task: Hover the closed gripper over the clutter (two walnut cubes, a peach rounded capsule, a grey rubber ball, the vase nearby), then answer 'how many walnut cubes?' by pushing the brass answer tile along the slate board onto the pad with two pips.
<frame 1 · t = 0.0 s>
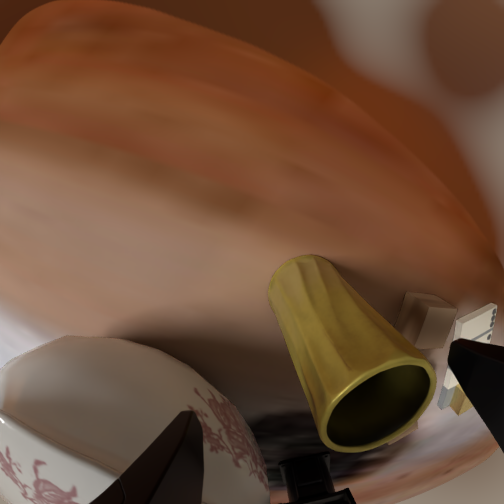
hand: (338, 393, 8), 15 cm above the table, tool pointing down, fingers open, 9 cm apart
walnut cube a: (388, 408, 26), on the table
vase: (304, 290, 23), on the table
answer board: (466, 357, 26), on the table
answer tile: (462, 389, 26), point 1 cm above the table, touching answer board
walnut cube b: (414, 311, 24), on the table
chamber pot: (142, 404, 25), on the table
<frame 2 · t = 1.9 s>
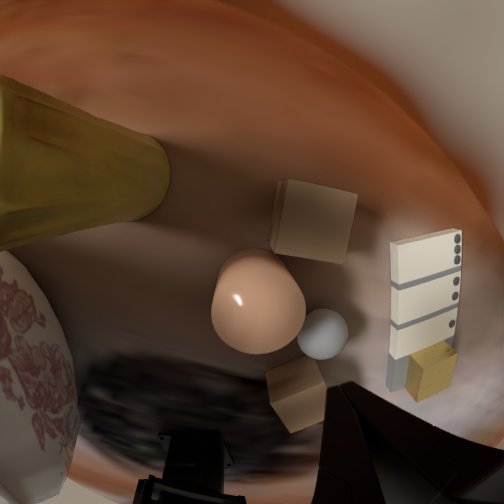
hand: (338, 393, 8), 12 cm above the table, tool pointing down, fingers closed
grey ball: (316, 322, 20), on the table
walnut cube a: (296, 378, 21), on the table
vase: (129, 176, 17), on the table
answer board: (423, 313, 21), on the table
answer tile: (424, 364, 21), point 1 cm above the table, touching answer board
walnut cube b: (301, 216, 19), on the table
chamber pot: (13, 328, 19), on the table
peach rounded capsule: (253, 283, 19), on the table
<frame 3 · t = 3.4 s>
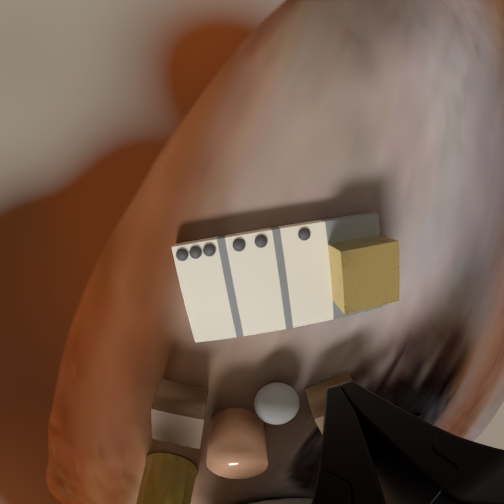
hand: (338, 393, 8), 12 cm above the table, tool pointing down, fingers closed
grey ball: (274, 390, 22), on the table
walnut cube a: (331, 393, 22), on the table
vase: (172, 464, 24), on the table
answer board: (284, 275, 19), on the table
answer tile: (357, 267, 18), point 1 cm above the table, touching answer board
walnut cube b: (183, 399, 22), on the table
peach rounded capsule: (236, 425, 22), on the table
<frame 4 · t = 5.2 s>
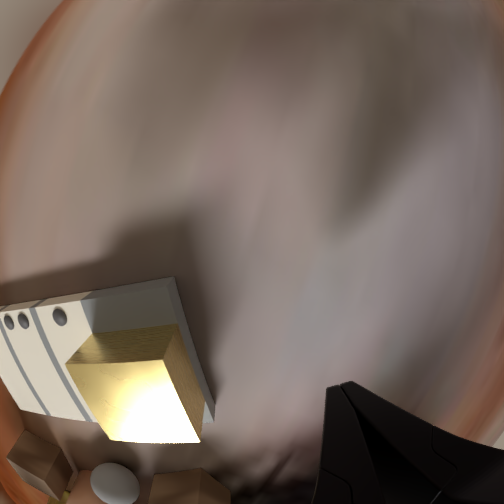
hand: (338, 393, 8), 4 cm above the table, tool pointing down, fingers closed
grey ball: (120, 467, 14), on the table
walnut cube a: (192, 483, 14), on the table
vase: (75, 499, 16), on the table
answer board: (73, 359, 12), on the table
answer tile: (147, 370, 10), point 1 cm above the table, touching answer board
walnut cube b: (49, 451, 14), on the table
peach rounded capsule: (104, 485, 15), on the table
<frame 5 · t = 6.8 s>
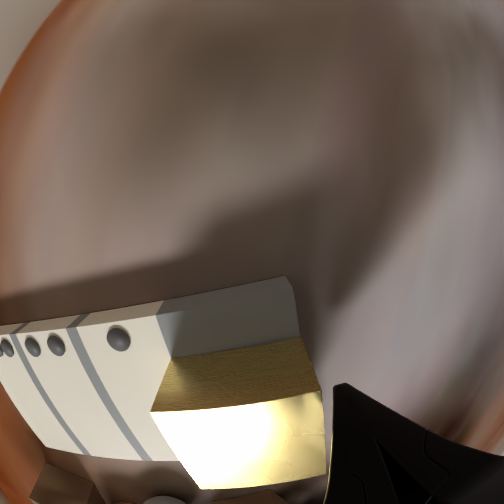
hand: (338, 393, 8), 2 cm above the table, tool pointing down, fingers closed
grey ball: (170, 498, 11), on the table
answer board: (125, 389, 9), on the table
answer tile: (247, 397, 8), point 1 cm above the table, touching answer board, gripper
walnut cube b: (76, 484, 11), on the table
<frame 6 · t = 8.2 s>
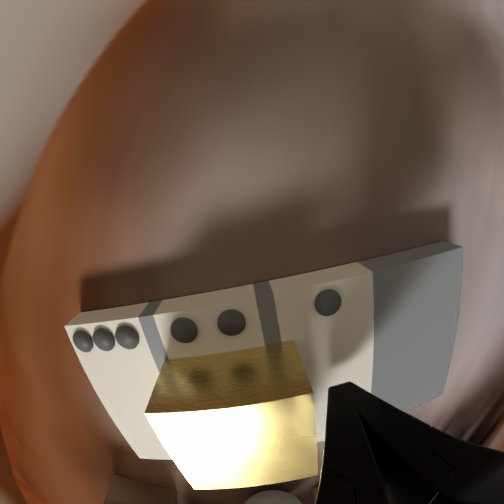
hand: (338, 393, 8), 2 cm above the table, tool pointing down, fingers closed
grey ball: (269, 493, 12), on the table
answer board: (283, 368, 10), on the table
answer tile: (240, 399, 8), point 1 cm above the table, touching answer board, gripper
walnut cube b: (146, 494, 12), on the table
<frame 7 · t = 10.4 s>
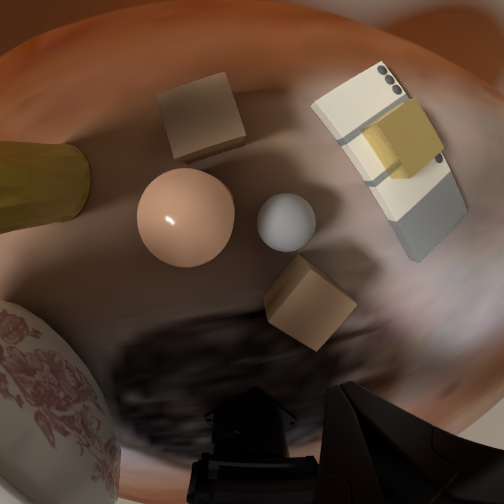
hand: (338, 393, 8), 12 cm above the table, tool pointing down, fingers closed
grey ball: (281, 219, 19), on the table
walnut cube a: (300, 290, 20), on the table
vase: (62, 183, 17), on the table
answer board: (399, 161, 18), on the table
answer tile: (394, 140, 17), point 1 cm above the table, touching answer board
walnut cube b: (207, 127, 17), on the table
chamber pot: (43, 374, 21), on the table
peach rounded capsule: (197, 210, 18), on the table
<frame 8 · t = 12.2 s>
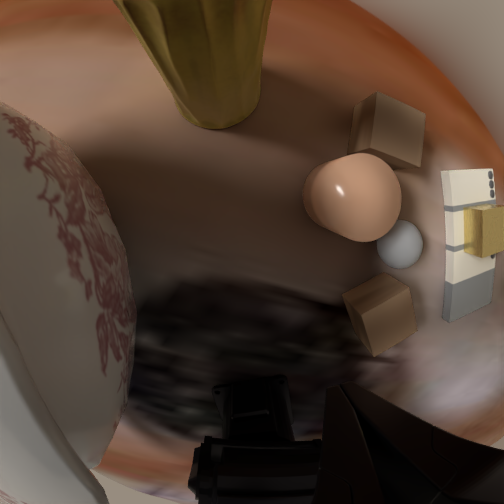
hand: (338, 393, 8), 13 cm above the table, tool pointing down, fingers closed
grey ball: (388, 239, 20), on the table
walnut cube a: (369, 303, 21), on the table
vase: (217, 91, 17), on the table
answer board: (469, 242, 21), on the table
answer tile: (476, 226, 19), point 1 cm above the table, touching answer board
walnut cube b: (373, 138, 19), on the table
chamber pot: (43, 269, 19), on the table
peach rounded capsule: (335, 195, 19), on the table
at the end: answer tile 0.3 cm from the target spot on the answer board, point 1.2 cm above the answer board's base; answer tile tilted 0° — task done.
